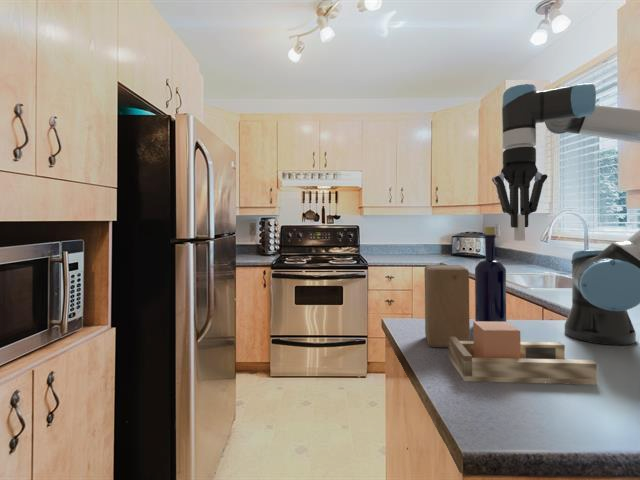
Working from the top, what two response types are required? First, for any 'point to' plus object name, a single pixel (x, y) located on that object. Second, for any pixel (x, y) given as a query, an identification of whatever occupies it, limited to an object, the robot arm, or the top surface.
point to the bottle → (490, 284)
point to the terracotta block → (496, 340)
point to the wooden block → (446, 304)
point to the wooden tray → (522, 365)
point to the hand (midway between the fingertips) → (519, 240)
